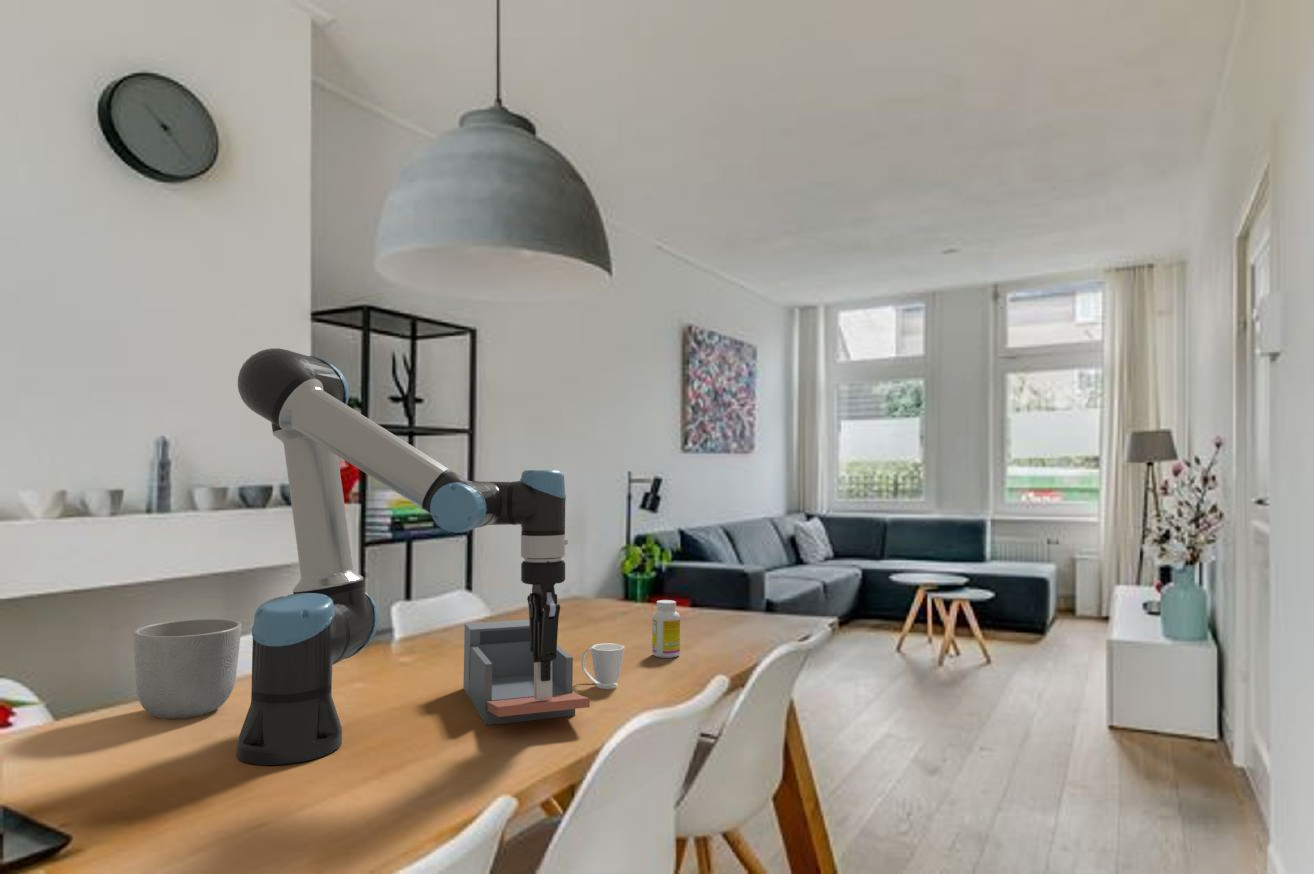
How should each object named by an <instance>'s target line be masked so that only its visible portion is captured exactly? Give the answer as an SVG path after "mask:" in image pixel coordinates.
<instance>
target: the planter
mask: <svg viewBox="0 0 1314 874" xmlns="http://www.w3.org/2000/svg"><path fill="white" fill-rule="evenodd" d="M242 627H243V625H242V622H240V621H238V620H234V619H227V618H191V619H180V620H179V619H178V620H171V621H164V622H158V623H153V624H148V625H145V626H142V627H139V628H137V629H135V630H134V631H133V635H132V636H133V651H134V652H133V654H134V655H133V656H134V657H133V658H134V673H135V690H136V695H137V698H138V701H139V704H140V705H141V707H142V709H144V710H145V712H147V713H148V714H149V715H151V716H153V717H154V718H158V719H159V718H161V719H166V720H182V719H189V718H195V717H199V716H203V715H207V714H209V713H212V712H214V711H216V710H218V709H220V707H222V706H223V705H224V703H226V702H227V701H228V699H229V698H230V696H231V695H232V693H233V690H234V688H235V684H236V679H237V672H238V664H239V662H238V661H239V654H240V646H241V645H240V644H241V635H242V634H241V633H242Z"/></svg>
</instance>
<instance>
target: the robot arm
mask: <svg viewBox="0 0 1314 874" xmlns="http://www.w3.org/2000/svg"><path fill="white" fill-rule="evenodd" d="M237 389H238V390H237V391H238V394H239V396H240V399H241V400H242V401H243V404H245V405H246V407H248V409H250V411H252V412H254V413H255V414H256V415H259V416H260V417H262V418H264V419H265V420H266V421H268V422H270V423H271V429H272V431H271V432H272V436H274V437H275V438H276V439H278V440H280V441H281V442H282V443H283V448H284V450H283V451H284V457H285V464H286V472H287V479H288V486H289V496H290V502H291V511H292V520H293V525H294V534H295V539H296V540H295V542H296V549H297V557H298V564H299V573H300V580H299V581H298V582H297V584H296V585H295V586H294V587H293V589H292V594H288V595H286V596H283V595H282V596H277V597H274V598H272V599H269V600H266V601H265V602H263V603H261V604H260V605H259V606H258V607H257V609H256V610H255V612H254V616H253V617H254V618H253V619H254V620H253V625H252V628H251V636H252V646H251V647H252V652H251V692H250V693H251V694H250V695H251V696H250V697H251V698H250V705H249V708H248V710H247V713H246V716H245V719H244V722H243V724H242V726H241V729H240V733H239V735H238V737H237V742H236V757H237V758H238V759H239V760H240V761H242V762H245V763H247V764H253V765H262V766H274V765H275V766H279V765H288V764H289V765H290V764H297V763H302V762H303V763H304V762H307V761H312V760H316V759H318V758H322V757H324V756H326V755H330V754H331V753H333V752H335V751H336V750H338V749H339V748H340V747H341V746H342V743H343V727H342V724H341V721H340V717H339V714H338V712H337V708H336V705H335V703H334V702H335V701H334V699H333V696H332V695H333V694H332V693H333V692H332V690H333V688H332V685H333V684H332V682H333V666H334V665H335V664H338V663H340V662H342V661H343V660H347V659H349V658H352V657H353V656H356V655H357V654H358V653H360V652H361V651H362V650H363V649H364V648H365V647H367V645H369V643H370V642H371V641H372V639H373V638H374V637H375V635H376V632H377V629H378V626H379V620H380V619H379V610H378V609H379V608H378V606H377V604H376V602H375V599H373V598H372V597H371V596H370V595H369V594H368V593H367V592H366V587H365V580H364V576H362V575H361V574H359V573H358V572H356V571H355V570H354V565H353V558H352V551H351V544H350V538H349V530H348V521H347V514H346V506H345V497H344V491H343V490H344V489H343V483H342V478H341V477H342V476H341V470H340V469H341V468H340V462H339V458H340V459H342V460H344V461H345V462H347V463H349V464H351V466H353V467H354V468H357V469H359V470H360V471H362V472H363V473H364V474H366V475H367V476H369V477H370V478H373V479H374V480H376V481H377V482H379V483H381V484H382V485H384V486H386V487H387V488H389V489H390V490H391V491H394V492H395V493H396V494H398V495H399V496H401V497H403V498H404V499H406V500H408V501H409V502H411V503H412V504H414V505H416V506H417V507H419V508H420V509H422V510H423V511H425V512H427V514H430V515H431V518H432V519H433V521H434V523H435V524H436V525H437V527H439V528H440V529H442V530H445V531H447V532H451V533H452V532H453V533H464V532H465V533H466V532H470V531H472V530H475V529H477V528H482V527H486V526H501V525H502V526H503V525H504V526H506V525H508V526H509V525H510V526H511V525H512V526H517V525H520V526H521V534H520V557H521V558H522V559H524V560H523V561H522V562H521V563H520V570H521V571H520V572H521V573H520V575H521V576H520V580H521V582H522V583H523V584H527V585H531V586H532V587H531V592H530V593H529V595H527V599H526V600H527V605H528V620H529V622H530V644H531V648H530V650H531V652H533V657H534V658H533V660H534V698H535V699H536V701H539V700H548V699H552V661H553V659H556V656H557V655H556V652H557V645H558V631H559V617H560V613H561V612H560V611H561V605H560V604H559V603H558V594H557V593H556V591H555V589H556V588H555V585H556V584H561V583H564V582H565V581H566V562H565V560H563V559H562V558H564V557H565V556H566V545H568V542H569V540H568V539H566V502H567V501H566V498H567V495H566V488H565V487H566V486H565V484H566V483H565V474H564V473H563V471H561V470H557V469H542V470H541V469H538V470H537V469H533V470H529V469H528V470H527V469H525V470H523V471H522V472H521V477H520V479H519V480H516V481H481V480H479V481H477V480H472V481H471V480H467V479H466V478H464V477H463V476H461V475H460V474H458V473H457V472H454V471H453V470H451V469H450V468H448V467H446V465H444V464H443V463H440V462H438V461H437V460H436V459H434V458H433V457H430V456H429V455H427V454H425V453H424V452H423V451H421V450H419V449H418V448H417V447H414V446H413V445H412V444H410V443H408V442H407V441H405V440H404V439H402V438H401V437H399V436H397V435H395V434H393V433H392V432H390V431H389V430H387V429H386V428H384V427H382V426H381V425H380V424H377V423H376V422H375V421H373V420H372V419H369V418H368V417H367V416H365V415H363V414H362V413H360V412H359V411H357V410H356V409H354V408H352V407H351V406H349V405H348V403H349V398H350V390H349V385H348V381H347V380H346V378H345V376H344V375H343V373H342V372H341V370H340V369H339V368H337V367H336V366H335V365H333V364H332V363H330V362H328V361H326V360H324V359H322V358H321V357H320V358H319V357H317V356H312V355H305V354H301V353H297V352H295V351H291V350H289V349H283V348H266V349H262V350H260V351H258V352H256V353H254V354H251V356H250V357H249V358H247V360H246V361H245V362H244V363H242V366H241V368H240V369H239V373H238V375H237Z"/></svg>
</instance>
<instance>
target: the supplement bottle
mask: <svg viewBox="0 0 1314 874" xmlns="http://www.w3.org/2000/svg"><path fill="white" fill-rule="evenodd" d="M676 607H677V601H675V600H671V599H670V600H669V599H661V600H657V601H656V608H657V610H656V611H654V613H652V627H651V628H652V629H651V631H652V634H651V635H652V637H651V639H652V640H651V641H652V642H651V643H652V644H651V645H652V647H651V648H652V650H651V652H652V655H653V656H654V657H656V658H663V659H670V658H671V659H672V658H676V657H678V656H680V654H681V653H680V652H681V616H680V613H679V612H678V611H676Z"/></svg>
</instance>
